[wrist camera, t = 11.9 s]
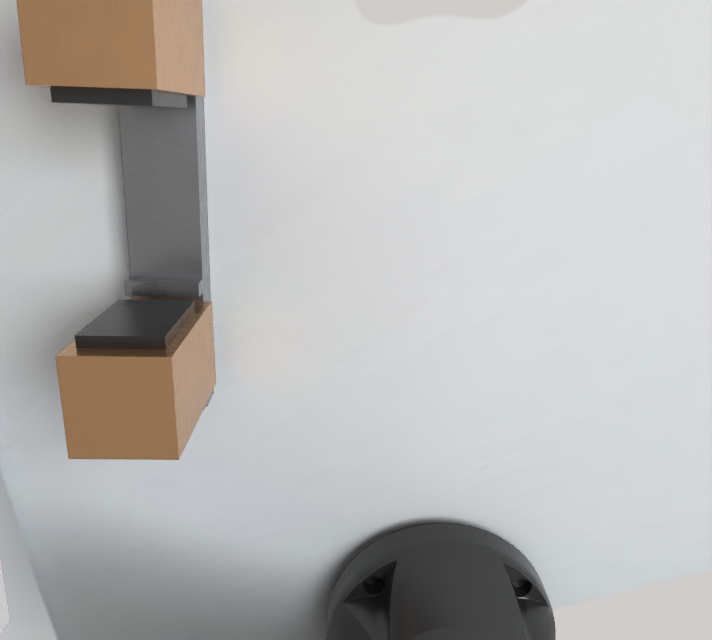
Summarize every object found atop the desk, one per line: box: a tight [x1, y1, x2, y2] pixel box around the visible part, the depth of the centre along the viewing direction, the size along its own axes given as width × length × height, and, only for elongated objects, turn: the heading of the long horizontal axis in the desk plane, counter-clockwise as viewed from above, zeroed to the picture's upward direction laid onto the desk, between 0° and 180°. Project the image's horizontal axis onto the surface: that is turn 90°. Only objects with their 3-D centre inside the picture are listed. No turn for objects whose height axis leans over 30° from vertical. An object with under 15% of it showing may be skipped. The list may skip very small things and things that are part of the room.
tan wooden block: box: [56, 300, 216, 460], centre depth 33 cm, size 6×5×9 cm
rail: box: [17, 0, 214, 410], centre depth 32 cm, size 24×5×11 cm, turn 178°
